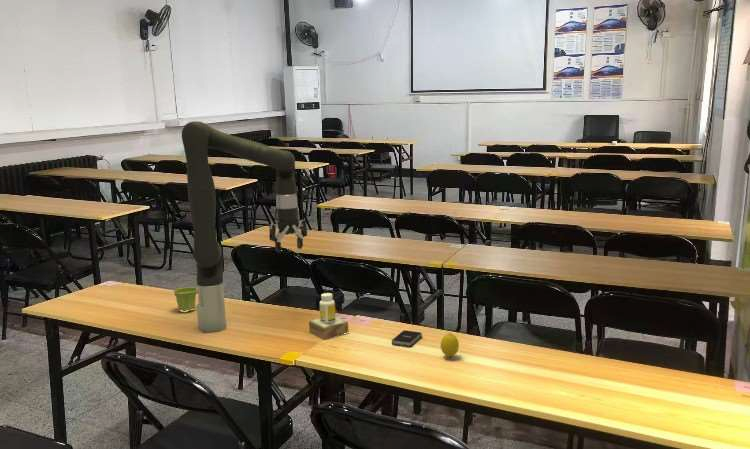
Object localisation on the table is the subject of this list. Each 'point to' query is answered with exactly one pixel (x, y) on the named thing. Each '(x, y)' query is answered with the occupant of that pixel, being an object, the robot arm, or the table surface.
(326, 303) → the supplement bottle
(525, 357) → the table surface
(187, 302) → the plant pot
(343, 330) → the pedestal
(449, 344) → the lemon
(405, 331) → the external hard drive
